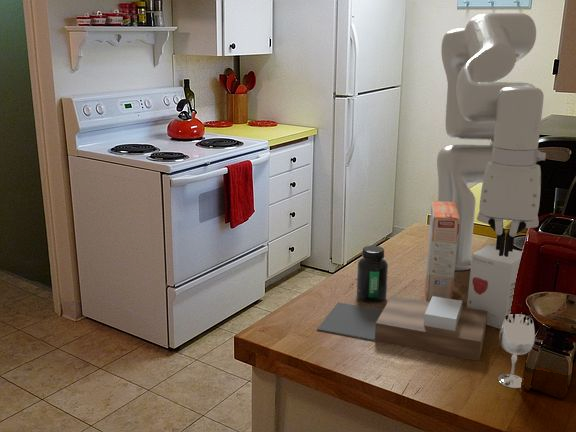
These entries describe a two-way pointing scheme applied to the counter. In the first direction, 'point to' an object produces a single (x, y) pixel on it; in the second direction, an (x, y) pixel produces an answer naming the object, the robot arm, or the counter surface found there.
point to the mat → (351, 321)
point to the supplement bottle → (372, 275)
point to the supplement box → (493, 283)
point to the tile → (443, 313)
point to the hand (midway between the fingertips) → (503, 254)
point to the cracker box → (442, 250)
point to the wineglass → (515, 343)
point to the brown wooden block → (430, 329)
